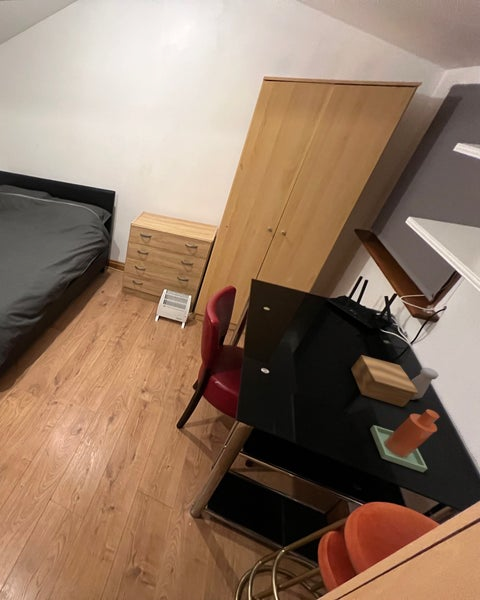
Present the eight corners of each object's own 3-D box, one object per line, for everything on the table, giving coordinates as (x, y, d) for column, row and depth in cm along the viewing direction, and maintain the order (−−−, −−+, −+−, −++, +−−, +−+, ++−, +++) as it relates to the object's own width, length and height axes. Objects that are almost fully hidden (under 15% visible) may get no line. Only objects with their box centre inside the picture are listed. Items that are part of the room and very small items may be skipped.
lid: (417, 394, 110) (419, 392, 110) (374, 381, 114) (375, 380, 113) (398, 367, 122) (400, 365, 122) (360, 356, 126) (361, 354, 126)
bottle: (411, 460, 97) (451, 426, 87) (387, 452, 98) (424, 417, 89) (403, 444, 101) (440, 409, 92) (381, 436, 103) (415, 401, 94)
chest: (402, 407, 115) (415, 394, 111) (361, 394, 118) (372, 382, 115) (388, 379, 126) (398, 367, 122) (350, 368, 130) (360, 356, 126)
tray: (423, 472, 94) (427, 468, 93) (381, 458, 97) (385, 454, 96) (407, 441, 103) (411, 437, 102) (370, 428, 106) (373, 424, 105)
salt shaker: (401, 387, 123) (424, 362, 116) (420, 397, 119) (445, 373, 112) (396, 393, 120) (418, 368, 113) (415, 404, 116) (439, 379, 109)
